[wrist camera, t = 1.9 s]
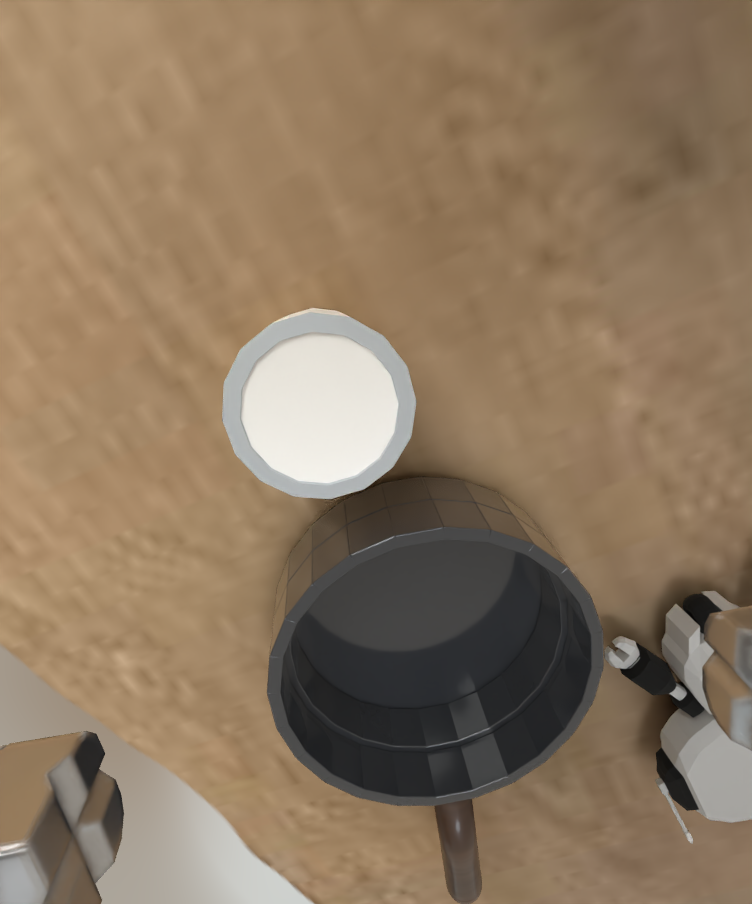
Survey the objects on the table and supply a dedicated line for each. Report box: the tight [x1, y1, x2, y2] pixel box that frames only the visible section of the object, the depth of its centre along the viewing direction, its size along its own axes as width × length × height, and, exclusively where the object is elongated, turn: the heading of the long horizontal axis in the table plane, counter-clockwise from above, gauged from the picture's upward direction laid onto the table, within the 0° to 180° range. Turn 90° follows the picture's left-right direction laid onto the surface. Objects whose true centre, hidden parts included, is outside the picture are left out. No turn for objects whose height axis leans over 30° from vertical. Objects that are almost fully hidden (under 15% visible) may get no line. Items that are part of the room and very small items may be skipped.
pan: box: [267, 477, 604, 806], centre depth 29 cm, size 15×15×6 cm
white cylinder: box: [222, 308, 416, 499], centre depth 24 cm, size 7×7×7 cm
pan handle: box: [435, 799, 482, 904], centre depth 32 cm, size 10×2×2 cm, turn 8°
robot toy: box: [604, 591, 752, 844], centre depth 34 cm, size 12×4×15 cm
